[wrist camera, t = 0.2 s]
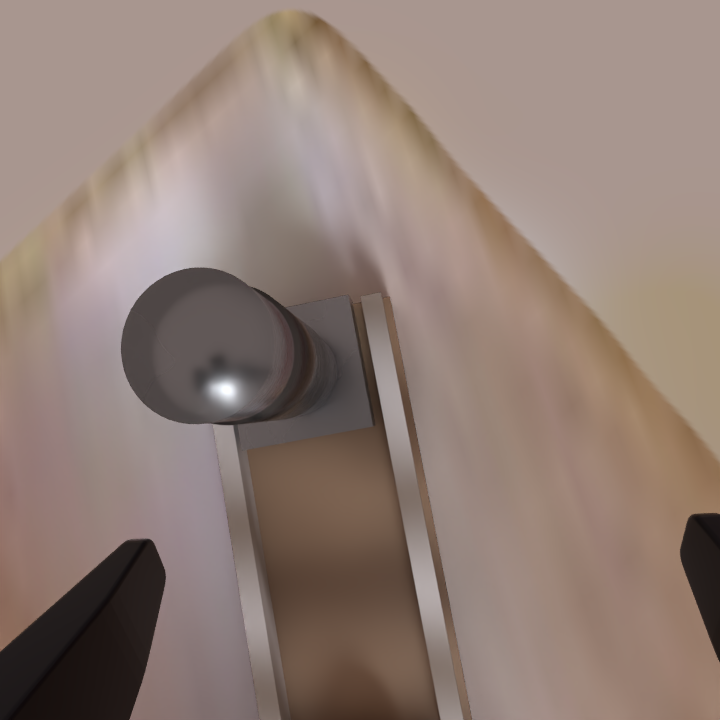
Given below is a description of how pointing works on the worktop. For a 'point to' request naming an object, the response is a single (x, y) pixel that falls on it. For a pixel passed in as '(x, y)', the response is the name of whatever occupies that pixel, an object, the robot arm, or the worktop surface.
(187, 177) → the worktop surface
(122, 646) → the robot arm
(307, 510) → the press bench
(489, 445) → the worktop surface
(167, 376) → the handle
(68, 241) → the worktop surface
